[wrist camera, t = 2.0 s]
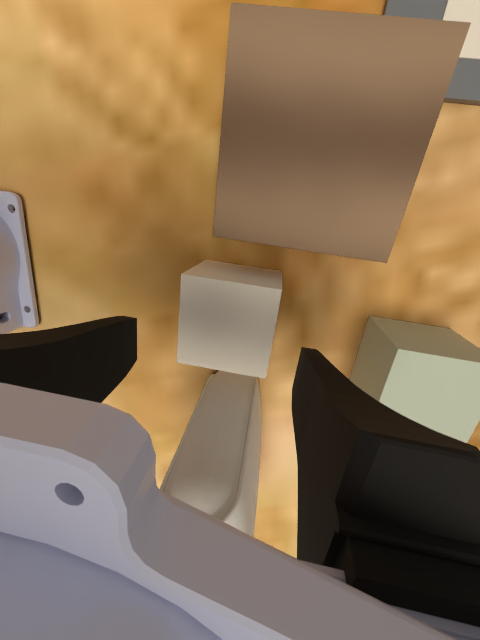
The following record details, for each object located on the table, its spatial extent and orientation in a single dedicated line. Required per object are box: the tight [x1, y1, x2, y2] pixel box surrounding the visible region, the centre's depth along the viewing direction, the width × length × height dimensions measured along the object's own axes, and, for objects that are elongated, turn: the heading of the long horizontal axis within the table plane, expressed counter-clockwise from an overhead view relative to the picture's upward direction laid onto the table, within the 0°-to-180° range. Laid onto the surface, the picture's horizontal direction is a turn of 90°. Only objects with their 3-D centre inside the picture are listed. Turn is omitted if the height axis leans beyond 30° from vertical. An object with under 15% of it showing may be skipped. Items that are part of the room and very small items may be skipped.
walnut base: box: [213, 3, 471, 263], centre depth 14 cm, size 9×9×3 cm
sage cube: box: [349, 316, 480, 443], centre depth 17 cm, size 5×5×5 cm
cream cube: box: [177, 260, 282, 379], centre depth 17 cm, size 5×5×5 cm
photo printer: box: [160, 371, 261, 537], centre depth 17 cm, size 10×4×12 cm, turn 1°
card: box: [383, 0, 480, 105], centre depth 13 cm, size 6×8×1 cm
